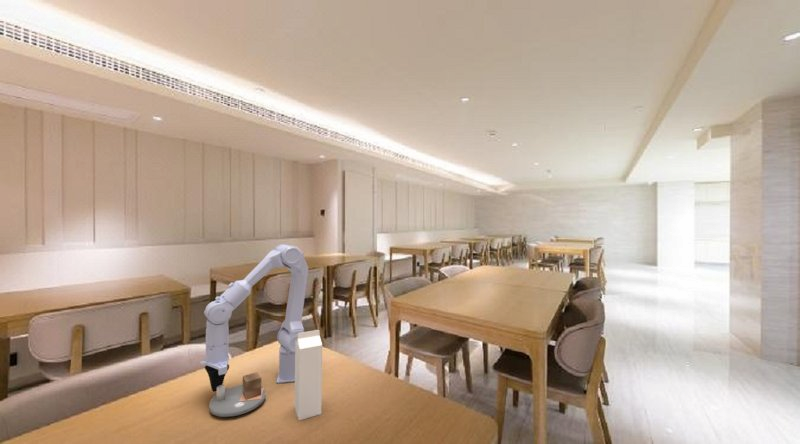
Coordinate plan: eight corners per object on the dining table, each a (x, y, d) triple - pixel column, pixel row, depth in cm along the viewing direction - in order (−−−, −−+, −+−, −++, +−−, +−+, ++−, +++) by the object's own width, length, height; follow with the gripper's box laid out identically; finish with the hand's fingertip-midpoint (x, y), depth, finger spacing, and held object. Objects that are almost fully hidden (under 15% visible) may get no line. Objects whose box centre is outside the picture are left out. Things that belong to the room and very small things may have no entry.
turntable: (268, 385, 97) (268, 370, 97) (261, 412, 83) (261, 394, 83) (218, 391, 93) (218, 375, 93) (201, 420, 79) (201, 402, 79)
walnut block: (257, 388, 92) (257, 372, 92) (261, 395, 89) (261, 377, 89) (242, 393, 89) (242, 376, 89) (245, 399, 86) (246, 381, 86)
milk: (321, 414, 84) (323, 333, 84) (298, 421, 81) (300, 337, 81) (315, 402, 89) (317, 326, 89) (293, 408, 86) (295, 329, 86)
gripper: (196, 339, 93) (195, 384, 93) (206, 355, 82) (205, 406, 82) (222, 333, 97) (222, 376, 97) (235, 348, 87) (235, 396, 87)
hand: (216, 390), depth 90 cm, fingers closed
